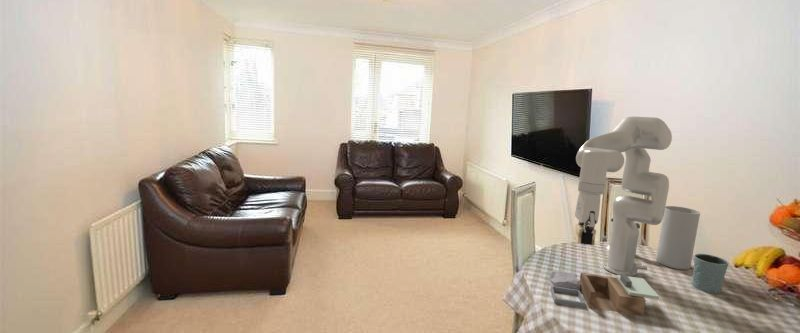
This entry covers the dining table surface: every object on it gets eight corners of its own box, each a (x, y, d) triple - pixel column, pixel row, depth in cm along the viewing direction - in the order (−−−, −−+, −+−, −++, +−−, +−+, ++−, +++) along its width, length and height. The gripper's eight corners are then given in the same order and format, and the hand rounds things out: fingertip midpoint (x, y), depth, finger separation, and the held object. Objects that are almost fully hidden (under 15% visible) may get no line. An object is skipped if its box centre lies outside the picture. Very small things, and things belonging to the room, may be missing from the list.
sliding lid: (642, 281, 132) (644, 273, 131) (659, 299, 119) (660, 290, 118) (616, 277, 134) (617, 269, 133) (629, 295, 121) (630, 286, 120)
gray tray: (578, 296, 132) (579, 290, 131) (584, 310, 123) (585, 303, 122) (549, 292, 134) (550, 285, 134) (553, 305, 125) (554, 298, 124)
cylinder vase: (658, 256, 175) (667, 204, 171) (692, 265, 166) (701, 210, 163) (653, 263, 166) (661, 208, 162) (687, 272, 158) (698, 215, 154)
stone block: (553, 295, 136) (583, 294, 134) (552, 282, 136) (581, 281, 133) (548, 282, 148) (575, 281, 145) (547, 270, 147) (574, 269, 145)
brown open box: (626, 296, 134) (629, 279, 133) (642, 318, 119) (645, 299, 118) (578, 289, 137) (580, 272, 136) (588, 310, 123) (590, 291, 122)
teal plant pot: (719, 286, 146) (724, 257, 144) (726, 297, 137) (732, 266, 135) (686, 279, 151) (691, 251, 149) (692, 290, 142) (697, 260, 140)
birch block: (589, 240, 127) (591, 226, 126) (594, 245, 122) (596, 230, 121) (574, 238, 128) (575, 224, 127) (577, 243, 123) (579, 228, 122)
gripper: (573, 182, 131) (566, 232, 134) (585, 191, 115) (577, 248, 117) (596, 184, 129) (589, 234, 132) (612, 194, 113) (603, 251, 116)
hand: (583, 240), depth 125 cm, fingers closed on birch block, 4 cm apart
